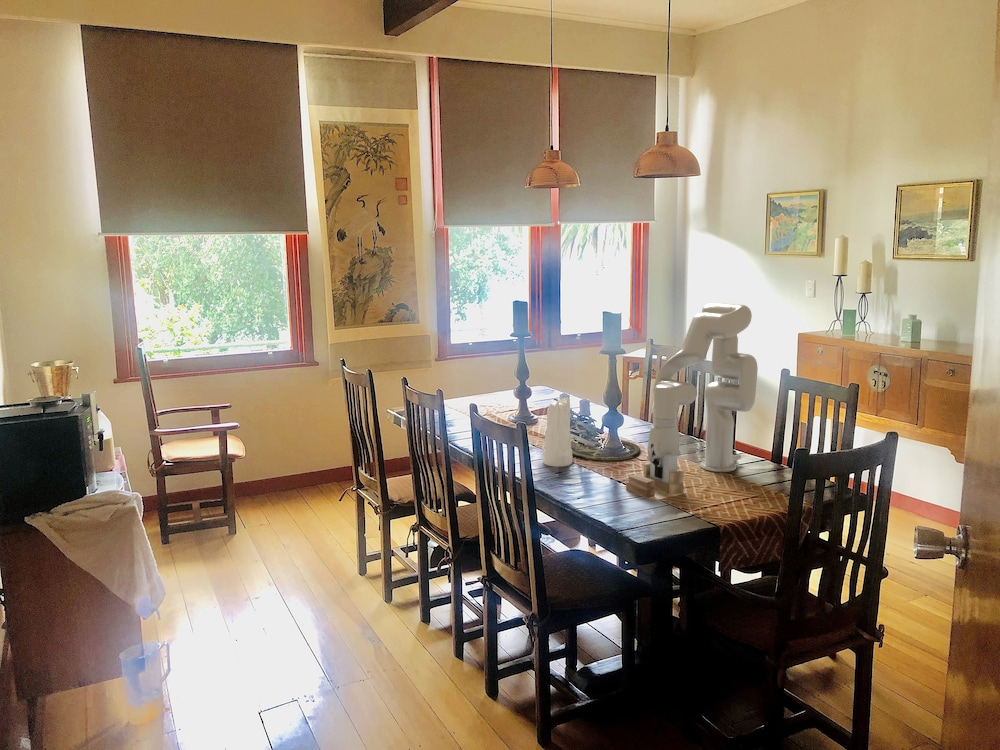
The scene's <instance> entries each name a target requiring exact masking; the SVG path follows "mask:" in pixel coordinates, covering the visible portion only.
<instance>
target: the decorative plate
mask: <svg viewBox="0 0 1000 750" xmlns="http://www.w3.org/2000/svg"><path fill="white" fill-rule="evenodd" d="M600 438H601V439H602V443H603V441H604V440H605V438H606V437H600ZM620 440H621V442H622V444H623V446H624V447H625V448H627V449H629V450H630V454H629V455H626V456H623V457H613V456H612V457H611V456H604V455H601V454H600V453H599V452H598V450H597V449H595V448H592V447H589V446H586V445H583V444H579V443H575V442H573V441H574V440H571V449H572V456H573V457H572V458H574V457H576V458H575V459H577V458H580V459H579V460H582V459H584V460H583V461H588V460H592V461H591V462H598V461H600V462H605V463H607V462H608V463H609V462H611V463H612V462H622V461H628V460H632V459H635V458H637V457H639V456H640V455H641V452H642V451H641V448H640V446H639V445H638V444H636V443H634V442H631V441H628V440H623V439H620Z"/></svg>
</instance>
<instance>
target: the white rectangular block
mask: <svg viewBox="0 0 1000 750" xmlns="http://www.w3.org/2000/svg"><path fill="white" fill-rule="evenodd" d="M653 458H654V456H653ZM678 458H679V456H678V455H675V454H668V455H664V457H663V458H662V465H661V467H663V473H662V479H660V478H657V477H655V465H653V463H652V462H651V461H649V463H650V477H651V478H654V479H657V480H659V481H662V482H664V483H667V484H669V476H670V473H672V472H677V471H678V460H679V459H678ZM657 461H658V459H657Z"/></svg>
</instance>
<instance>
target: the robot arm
mask: <svg viewBox="0 0 1000 750" xmlns="http://www.w3.org/2000/svg"><path fill="white" fill-rule="evenodd" d="M751 322H752V311H751V309H750V308H749V307H748V306H747V305H745V304H739V303H738V304H736V303H735V304H734V303H721V302H711V303H707V304H705V305H704V306H703V307H702V311H701V312H700V313H697V314H695V315H694V316H693V317H692V319H691V322H690V325H689V328H688V330H687V333H686V334H685V338H684V340H683V343H682V346H681V348H680V350H679V351H678V352H676V353H675V354H674V355H672V356H671V357H670V358H668V359H667V361H666V362H665V363H663V364H662V365H661V367H660V368H659V370H658V373H657V376H656V378H655V381H654V384H653V390H652V391H653V392H652V393H653V413H652V414H653V416H652V419H653V422H652V425H651V426H650V430H649V434H648V435H649V436H648V441H647V442H648V443H647V457H646V460H648V461H649V462H650V461H651V462H652V463H653V465H655V477H657V478H660V479H662V473H663V467H661V465H662V458H663V457H664V455H668V454H675V455H678V457H679V456H680V455H681V451H680V433H679V428H678V421H679V417H678V406H687V405H691V404H693V402H695V400H696V398H697V396H698V390H697V388H696V386H695V385H694V384H693V383H691V382H686V381H679V380H674V379H673V377H674V376H675V375H676V373H678V372H680V371H681V370H683V369H685V368H688V367H691V366H694V365H697V364H699V363H701V362H703V361H704V360H706V356H707V354H708V351H709V349H710V347H711V343H712V351H711V353H712V354H711V373H712V374H713V376H714V377H717V378H720V379H728V380H734V381H738V383H734V382H727V381H712V382H710V383H708V384H707V386H706V387H705V389H704V400H705V401H704V402H705V410H706V421H705V422H706V427H705V447H704V449H705V450H704V451H705V452H704V460H702V461H701V462H700V463H699V464H700V468H701V469H703V470H705V471H710V472H715V473H717V472H718V473H728V472H734V471H735V470H736V469H737V464H735V461H739V460H741V459H742V455H741V454H733V446H734V430H735V429H734V428H735V421H734V417H733V415H732V412H731V411H734V412H742V413H747V412H750V411H751V410H752V409H753V407H754V405H755V401H756V393H757V392H756V391H757V383H758V382H757V381H758V368H759V367H758V362H757V359H756V358H755V357H754V356H753V355H751V354H749V353H741V352H739V351H738V346H739V345H738V344H739V336H738V334H740V333H742V332H743V331H745V330H746V329H747V328H748V327H749V326H750V324H751ZM653 456H654V458H653ZM657 459H658V461H657Z"/></svg>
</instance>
